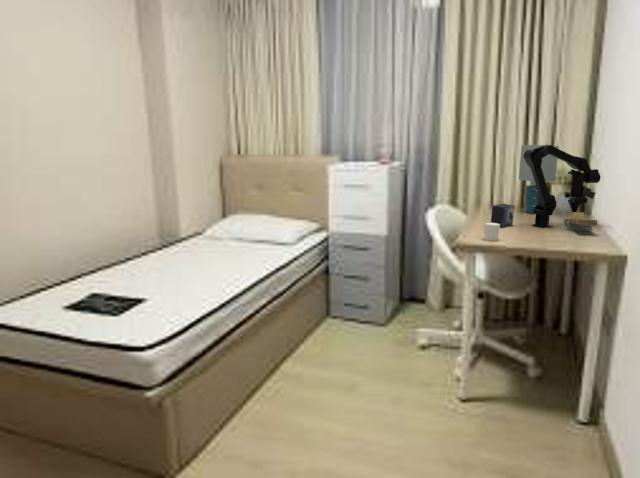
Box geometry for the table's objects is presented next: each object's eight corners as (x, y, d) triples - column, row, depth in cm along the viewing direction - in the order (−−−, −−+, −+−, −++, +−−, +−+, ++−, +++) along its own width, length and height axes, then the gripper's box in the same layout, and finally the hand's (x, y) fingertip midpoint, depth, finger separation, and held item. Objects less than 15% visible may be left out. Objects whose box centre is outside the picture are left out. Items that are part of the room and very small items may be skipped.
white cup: (488, 241, 235) (489, 225, 234) (479, 238, 242) (480, 222, 240) (502, 240, 237) (503, 224, 236) (493, 237, 244) (494, 222, 242)
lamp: (519, 214, 301) (526, 146, 293) (512, 209, 320) (518, 144, 311) (556, 215, 298) (563, 146, 290) (546, 210, 317) (553, 145, 309)
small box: (501, 228, 264) (503, 207, 262) (489, 226, 269) (491, 205, 267) (513, 225, 271) (515, 205, 268) (501, 223, 276) (503, 203, 273)
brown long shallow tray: (597, 225, 246) (597, 220, 246) (577, 224, 248) (577, 219, 247) (581, 223, 271) (581, 219, 271) (563, 223, 273) (563, 218, 273)
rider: (583, 221, 262) (584, 212, 262) (572, 221, 263) (573, 212, 263) (579, 221, 269) (580, 212, 269) (568, 221, 270) (569, 212, 270)
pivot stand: (599, 236, 247) (600, 226, 246) (572, 234, 249) (573, 225, 248) (584, 225, 271) (585, 216, 270) (560, 224, 273) (561, 215, 272)
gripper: (600, 186, 257) (596, 218, 260) (589, 181, 274) (585, 211, 278) (575, 185, 259) (572, 217, 262) (565, 181, 276) (562, 211, 280)
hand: (573, 214), depth 270 cm, fingers closed
